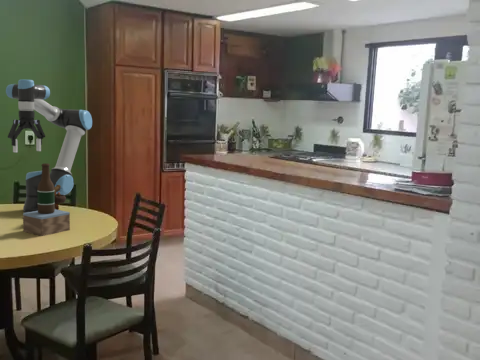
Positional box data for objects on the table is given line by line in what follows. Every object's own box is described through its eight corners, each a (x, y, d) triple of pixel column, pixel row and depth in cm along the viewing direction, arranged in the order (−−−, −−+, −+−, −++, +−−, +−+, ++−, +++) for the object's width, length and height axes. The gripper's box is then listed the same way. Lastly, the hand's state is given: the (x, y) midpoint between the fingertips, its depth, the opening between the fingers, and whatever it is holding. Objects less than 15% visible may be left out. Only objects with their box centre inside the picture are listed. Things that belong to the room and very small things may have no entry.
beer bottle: (47, 214, 239) (46, 164, 236) (34, 213, 242) (33, 163, 238) (58, 212, 246) (57, 163, 243) (45, 210, 249) (44, 162, 246)
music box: (65, 224, 259) (64, 186, 256) (42, 225, 256) (41, 186, 253) (67, 218, 273) (66, 182, 270) (45, 218, 270) (45, 182, 268)
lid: (51, 210, 254) (51, 208, 254) (69, 214, 247) (69, 212, 247) (23, 215, 241) (23, 213, 241) (41, 219, 234) (41, 217, 233)
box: (51, 225, 255) (51, 210, 254) (69, 230, 248) (69, 214, 247) (23, 231, 242) (23, 215, 241) (42, 236, 235) (41, 219, 234)
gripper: (42, 110, 268) (43, 150, 271) (-1, 109, 247) (0, 152, 250) (51, 111, 264) (52, 151, 267) (8, 109, 243) (9, 153, 246)
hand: (27, 151), depth 258 cm, fingers open, 13 cm apart
